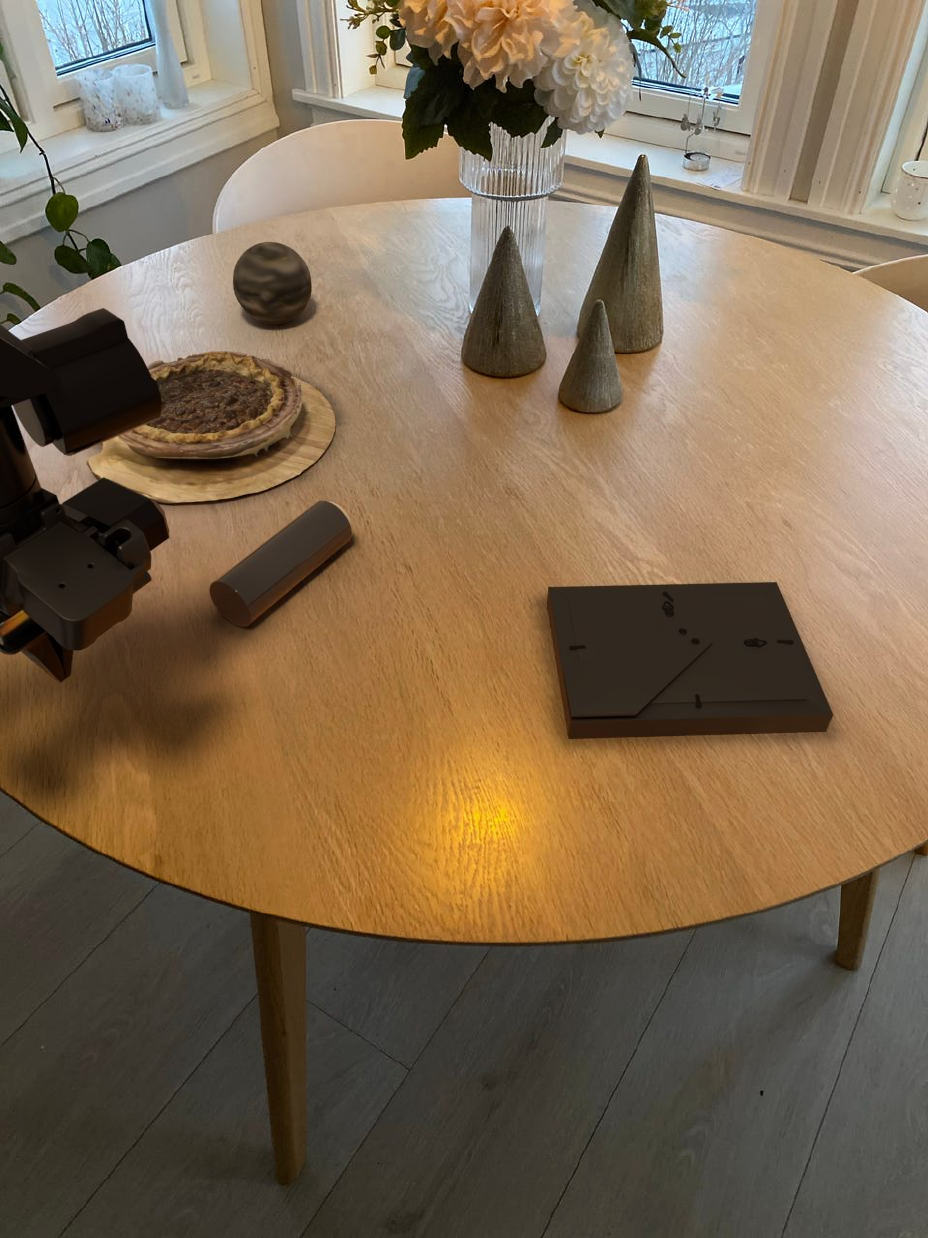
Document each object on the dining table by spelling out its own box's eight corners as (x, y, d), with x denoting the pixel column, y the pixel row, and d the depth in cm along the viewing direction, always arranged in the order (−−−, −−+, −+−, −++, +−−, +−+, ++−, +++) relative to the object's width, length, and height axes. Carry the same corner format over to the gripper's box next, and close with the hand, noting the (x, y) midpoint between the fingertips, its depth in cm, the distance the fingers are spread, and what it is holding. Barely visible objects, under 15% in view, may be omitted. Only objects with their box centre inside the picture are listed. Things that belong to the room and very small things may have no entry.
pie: (244, 347, 121) (238, 309, 117) (386, 434, 107) (385, 394, 104) (35, 430, 107) (21, 390, 103) (168, 543, 93) (157, 501, 89)
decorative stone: (310, 338, 123) (302, 262, 116) (232, 337, 123) (219, 261, 116) (319, 303, 130) (312, 229, 123) (245, 302, 130) (234, 228, 123)
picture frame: (568, 738, 76) (826, 731, 77) (571, 715, 74) (836, 708, 75) (546, 603, 87) (771, 598, 88) (548, 580, 85) (778, 575, 86)
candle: (231, 580, 80) (341, 494, 89) (200, 582, 84) (308, 499, 92) (259, 626, 82) (363, 538, 91) (228, 627, 86) (331, 542, 94)
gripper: (-80, 642, 44) (24, 834, 55) (208, 451, 55) (248, 642, 66) (-216, 554, 48) (-94, 749, 59) (78, 395, 60) (135, 582, 70)
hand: (61, 677), depth 64 cm, fingers closed
